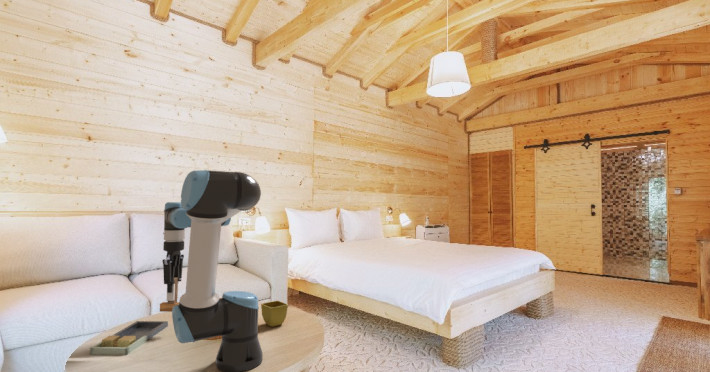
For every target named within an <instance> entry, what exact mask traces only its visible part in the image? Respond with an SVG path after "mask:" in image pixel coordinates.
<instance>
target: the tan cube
mask: <svg viewBox="0 0 710 372" xmlns="http://www.w3.org/2000/svg"><path fill="white" fill-rule="evenodd" d="M119 339H120V336H112V335H109V336H106V337H105V338H102V339H101V342H102V347H118V340H119Z"/></svg>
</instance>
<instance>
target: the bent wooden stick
mask: <svg viewBox="0 0 710 372" xmlns="http://www.w3.org/2000/svg"><path fill="white" fill-rule="evenodd" d="M178 282H179V281H178V277H174V283H173V284H175V296H174V301H162V302H161V303H159V312H164V313H165V312H166V313H167V312H169V313H172V309H173V306H175V305H179V301H178V298H177V286H178Z"/></svg>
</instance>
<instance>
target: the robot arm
mask: <svg viewBox="0 0 710 372" xmlns="http://www.w3.org/2000/svg"><path fill="white" fill-rule="evenodd" d="M261 195H262V190H261V187H260V185H259V182H258V181H257V180H256V179H255V178H254V177H253V176H251V175H249V174H247V173H244V172H241V171H220V170H208V169H204V170H201V169H199V170H192V171H190V172H189V173H187V175H186V176H185V179H184V181H183V184H182V188H181V193H180V198H181V199H180V201H179V202H178V201H175V202H174V201H173V202H172V201H169V202H166V203H165V204H164V210H163V213H164V217H163V219H164V223H163V225H164V226H163V227H164V228H163V233H162V234H163V240H164V241H163V247H162V248H163V251H165V252H166V255H165V259H162V265H163V266H162V267H163V269H162V271H163V284H164V285H166V302H168V301H174V296H175V284H173V283H174V277H178V286H177V299H178V298H179V301H178V302H179V305H175V306H173V309H172V312H171V316H172V325H173V329H174V334H175V336H176V339H177V341H178V342H179V343H181V344H188V343H195V342H198V341H204V340H207V339H213V338H216V337H221V342H220V345H219V348H218V351H217V354H216V357H215V367H216V368H217V370H220V371H223V372H245V371H249V370H252V369H254V368H256V367H258V366H259V365H261V363H262V362H263V358H264V357H263V356H264V355H263V350H262V347H261V344H260V343H261V342H260V340H259V336H258V335H259V334H258V333H259V331H258V330H259V328H258V327H259V308H260V307H259V298H258V296H257V295H256V294H255V293H253V292H249V291H241V290H231V291H225V292H223V293H222V296H221V298H220V296H219V295H218V293H216V284H217V275H218V272H217V271H218V262H219V251H220V241H221V231H222V227H226V226H229V225H230V223H231V220H232V218H233V217H234V216H235V215H237V214H239V213H241V212H242V211H243V212H246V211H248V210H249V211H250V210H251V209H253V208H254V207H255V206H256V205H257V204H258V203H259V202H260V199H261ZM187 228H190V231H189V232H190V236H189V246H188V255H187V256H188V258H187V269H186V270H187V271H186V282H185V293H183V294H182V295H181V296H180V297H179V291H180V290H179V289H180V288H179V287H180V285H179V282H182V277H183V276H182V275H183V264H184V257H185V254H182V253H181V251H184V249H185V231H186V230H185V229H187Z"/></svg>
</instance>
